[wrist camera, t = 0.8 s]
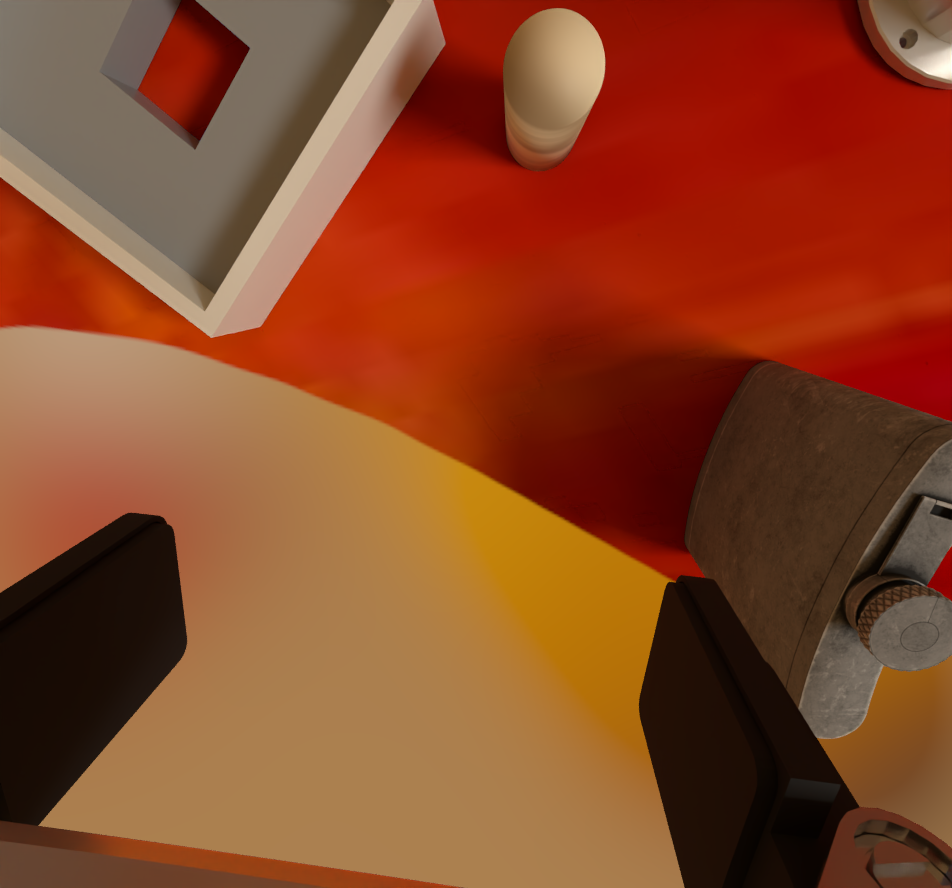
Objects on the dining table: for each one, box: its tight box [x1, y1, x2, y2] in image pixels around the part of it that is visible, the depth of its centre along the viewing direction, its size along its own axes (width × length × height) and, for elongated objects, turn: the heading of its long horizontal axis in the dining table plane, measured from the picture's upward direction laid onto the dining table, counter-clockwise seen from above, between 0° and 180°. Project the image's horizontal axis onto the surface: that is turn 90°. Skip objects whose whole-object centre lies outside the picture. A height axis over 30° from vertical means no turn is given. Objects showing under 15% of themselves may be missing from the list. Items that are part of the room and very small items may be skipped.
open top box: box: [0, 0, 446, 338], centre depth 28 cm, size 20×20×6 cm
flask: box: [684, 361, 952, 739], centre depth 27 cm, size 4×14×18 cm, turn 168°
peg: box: [503, 8, 605, 171], centre depth 25 cm, size 4×4×10 cm
